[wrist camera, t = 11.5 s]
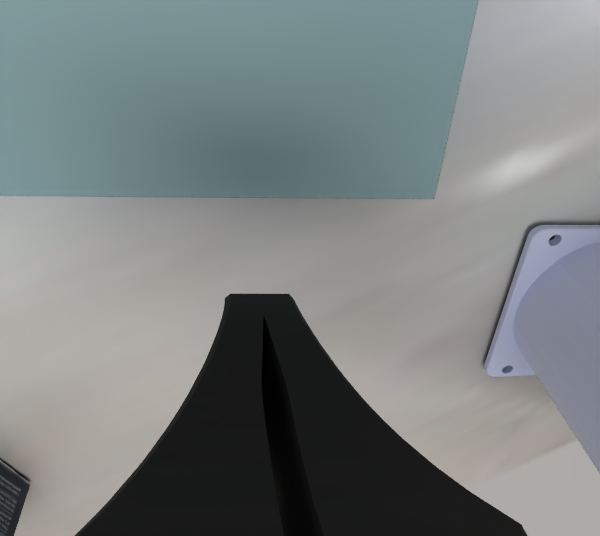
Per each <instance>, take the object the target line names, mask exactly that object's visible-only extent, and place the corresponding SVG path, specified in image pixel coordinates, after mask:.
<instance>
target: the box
mask: <svg viewBox="0 0 600 536" xmlns="http://www.w3.org/2000/svg"><path fill="white" fill-rule="evenodd" d="M29 486H30V484H29V482H28V481H27V480H26V479H24V478H23V477H21V476H20V475H19V474H18V473H16V472H15V471H14V470H13V469H12V468H10V467H8V466H7V465H6V464H5V463H3V462H2V461H1V460H0V536H14V533H15V530H16V527H17V524H18V521H19V518H20V515H21V511H22V508H23V505H24V502H25V499H26V496H27V493H28V490H29Z"/></svg>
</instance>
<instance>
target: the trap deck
mask: <svg viewBox="0 0 600 536" xmlns="http://www.w3.org/2000/svg"><path fill="white" fill-rule="evenodd" d="M477 5H478V0H0V196H98V197H233V198H368V199H434V198H435V193H436V189H437V184H438V180H439V175H440V171H441V166H442V162H443V157H444V153H445V148H446V144H447V139H448V135H449V130H450V126H451V121H452V117H453V112H454V108H455V103H456V99H457V94H458V90H459V85H460V81H461V76H462V72H463V67H464V63H465V58H466V54H467V49H468V45H469V40H470V36H471V31H472V27H473V23H474V18H475V14H476V9H477Z"/></svg>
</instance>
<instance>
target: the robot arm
mask: <svg viewBox="0 0 600 536" xmlns="http://www.w3.org/2000/svg"><path fill="white" fill-rule="evenodd" d="M553 235H556V237H555V238H554V239H553V240H550V241H549V239H550V238H551V237H552V236H553ZM505 366H506V367H505ZM484 369H485V371H486V373H487V374H488V375H489V376H491V377H506V376H532V375H536V376H537V377H538V379H539V380H540V382H541V383H542V385H543V386H544V388H545V390H546V391H547V393H548V394H549V396H550V397H551V399H552V400H553V402H554V403H555V405H556V406H557V408H558V410H559V411H560V413H561V414H562V416H563V417H564V419H565V420H566V422H567V423H568V425H569V427H570V428H571V430H572V431H573V433H574V434H575V436H576V437H577V439H578V440H579V442H580V444H581V445H582V447H583V448H584V450H585V451H586V453H587V454H588V456H589V457H590V459H591V461H592V462H593V464H594V465H595V467H596V468H597V470H598V471H599V473H600V225H540V226H537V227H535V228H533V229H532V230H531V231H530V233H529V234H528V236H527V239H526V242H525V245H524V248H523V251H522V254H521V257H520V260H519V263H518V266H517V269H516V272H515V275H514V278H513V281H512V284H511V287H510V290H509V293H508V296H507V299H506V302H505V305H504V308H503V311H502V314H501V317H500V320H499V323H498V326H497V329H496V332H495V335H494V337H493V340H492V343H491V346H490V349H489V352H488V355H487V358H486V361H485V364H484ZM75 536H527V534H526V532H525V531H524V529H523V527H522V525H521V524H519V523H518V522H516V521H514V520H513V519H512V518H510V517H508V516H507V515H505V514H504V513H502V512H501V511H499V510H498V509H496V508H494V507H493V506H491V505H490V504H488V503H487V502H485V501H483V500H482V499H480V498H479V497H477V496H476V495H474V494H472V493H471V492H470V491H468V490H467V489H465V488H464V487H463V486H461V485H460V484H459V483H457V482H456V481H454V480H453V479H452V478H450V477H449V476H448V475H446V474H445V473H444V472H442V471H441V470H439V469H438V468H437V467H436V466H434V465H433V464H432V463H431V462H430V461H428V460H427V459H426V458H425V457H424V456H422V455H421V454H420V453H419V452H418V451H417V450H415V449H414V448H413V447H412V446H411V445H409V444H408V443H407V442H406V441H405V440H404V439H402V438H401V437H400V436H399V435H398V434H397V433H396V432H395V431H394V430H393V429H392V428H391V427H390V426H389V425H388V424H387V423H386V422H385V421H384V420H383V419H382V418H381V417H380V416H379V415H378V414H377V413H376V412H375V411H374V410H373V409H372V408H371V407H370V406H369V405H368V404H367V403H366V401H365V400H364V399H363V398H362V397H361V396H360V395H359V394H358V392H357V391H356V390H355V389H354V388H353V386H352V385H351V384H350V383H349V382H348V380H347V379H346V378H345V377H344V376H343V374H342V373H341V372H340V370H339V369H338V368H337V366H336V365H335V364H334V362H333V361H332V360H331V358H330V357H329V355H328V354H327V353H326V351H325V350H324V348H323V347H322V346H321V344H320V343H319V341H318V340H317V338H316V337H315V335H314V334H313V332H312V331H311V329H310V327H309V326H308V324H307V323H306V321H305V319H304V318H303V316H302V314H301V312H300V311H299V309H298V307H297V305H296V303H295V301H294V299H293V298H292V297H291V296H290V295H289V294H230V295H229V296H227V297H226V298H225V306H224V311H223V316H222V319H221V323H220V326H219V329H218V332H217V335H216V337H215V340H214V342H213V344H212V347H211V349H210V352H209V354H208V356H207V359H206V361H205V363H204V365H203V367H202V369H201V371H200V373H199V375H198V377H197V379H196V381H195V383H194V384H193V386H192V388H191V390H190V392H189V394H188V395H187V397H186V399H185V401H184V402H183V404H182V406H181V407H180V409H179V411H178V412H177V414H176V415H175V417H174V418H173V420H172V421H171V423H170V424H169V426H168V427H167V429H166V430H165V432H164V433H163V434H162V436H161V437H160V439H159V440H158V441H157V443H156V444H155V446H154V447H153V448H152V450H151V451H150V452H149V454H148V455H147V456H146V458H145V459H144V460H143V462H142V463H141V464H140V465H139V467H138V468H137V469H136V470H135V471H134V472H133V474H132V475H131V476H130V477H129V478H128V479H127V481H126V482H125V483H124V484H123V485H122V486H121V488H120V489H119V490H118V491H117V492H116V493H115V494H114V496H113V497H112V498H111V499H110V500H109V501H108V502H107V504H106V505H105V506H104V507H103V508H102V509H101V510H100V511H99V512H98V513H97V514H96V515H95V516H94V517H93V518H92V519H91V520H90V521H89V522H88V523H87V524H86V525H85V526H84V527H83V528H82V529H81V530H80V531H79V532H78V533H77V534H76V535H75Z"/></svg>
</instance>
